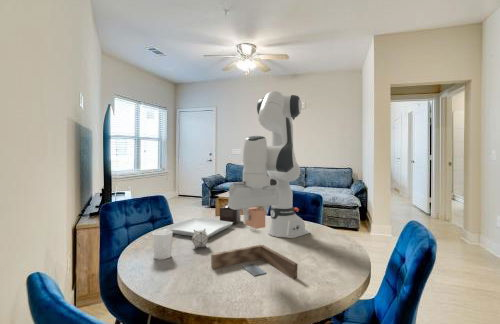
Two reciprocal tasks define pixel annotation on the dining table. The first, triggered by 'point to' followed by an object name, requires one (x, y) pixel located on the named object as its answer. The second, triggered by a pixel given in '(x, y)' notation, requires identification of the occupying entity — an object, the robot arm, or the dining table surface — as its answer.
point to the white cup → (162, 244)
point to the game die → (200, 238)
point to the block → (256, 218)
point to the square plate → (199, 226)
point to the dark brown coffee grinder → (229, 214)
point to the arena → (253, 254)
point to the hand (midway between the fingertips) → (254, 219)
